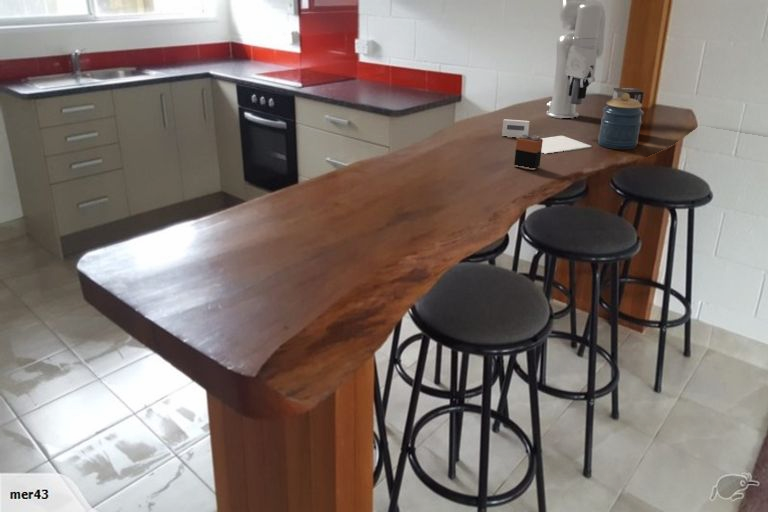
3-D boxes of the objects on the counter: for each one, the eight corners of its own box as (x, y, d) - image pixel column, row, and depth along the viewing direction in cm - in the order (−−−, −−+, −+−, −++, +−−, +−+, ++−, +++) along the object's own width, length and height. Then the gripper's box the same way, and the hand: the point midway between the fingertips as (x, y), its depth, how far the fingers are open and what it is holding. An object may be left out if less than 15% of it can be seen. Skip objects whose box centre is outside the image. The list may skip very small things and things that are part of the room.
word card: (502, 135, 221) (503, 119, 218) (527, 137, 218) (529, 121, 216) (501, 136, 220) (503, 120, 217) (527, 138, 217) (529, 121, 215)
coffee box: (631, 132, 226) (639, 87, 219) (636, 137, 220) (644, 91, 213) (606, 131, 227) (613, 87, 220) (610, 136, 221) (618, 90, 214)
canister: (596, 148, 207) (604, 95, 199) (598, 138, 218) (606, 88, 210) (637, 152, 203) (647, 98, 195) (636, 142, 214) (646, 90, 206)
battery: (534, 171, 184) (537, 139, 180) (513, 167, 188) (516, 135, 183) (539, 167, 188) (543, 135, 183) (519, 163, 191) (522, 132, 187)
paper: (516, 143, 212) (516, 141, 212) (561, 136, 220) (562, 135, 220) (544, 154, 200) (545, 153, 200) (591, 147, 208) (591, 146, 208)
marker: (567, 102, 218) (572, 70, 212) (576, 101, 219) (580, 69, 214) (575, 105, 215) (579, 72, 209) (584, 103, 216) (588, 71, 211)
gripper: (559, 39, 212) (552, 93, 221) (593, 47, 199) (584, 103, 208) (576, 38, 215) (569, 90, 224) (611, 45, 202) (601, 101, 211)
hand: (576, 96), depth 216 cm, fingers closed on marker, 3 cm apart
